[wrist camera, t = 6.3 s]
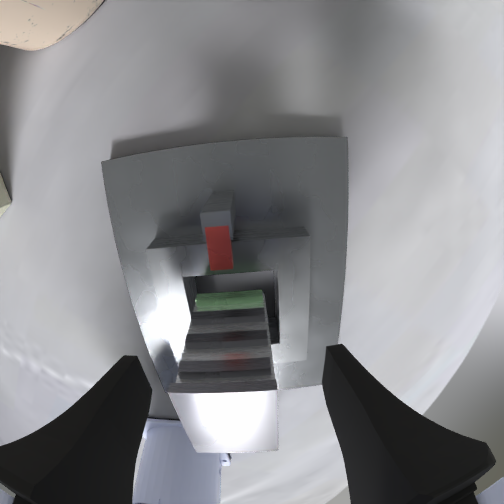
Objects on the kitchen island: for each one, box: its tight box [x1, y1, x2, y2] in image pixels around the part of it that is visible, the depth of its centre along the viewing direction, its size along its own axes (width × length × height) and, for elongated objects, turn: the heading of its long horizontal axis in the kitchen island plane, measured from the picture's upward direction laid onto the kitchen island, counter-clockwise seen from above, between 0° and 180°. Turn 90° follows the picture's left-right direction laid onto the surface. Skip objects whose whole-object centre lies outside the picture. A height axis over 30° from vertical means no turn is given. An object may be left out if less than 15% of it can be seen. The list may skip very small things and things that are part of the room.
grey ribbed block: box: [168, 289, 278, 453], centre depth 10 cm, size 4×3×6 cm
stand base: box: [101, 137, 348, 393], centre depth 14 cm, size 16×12×5 cm
